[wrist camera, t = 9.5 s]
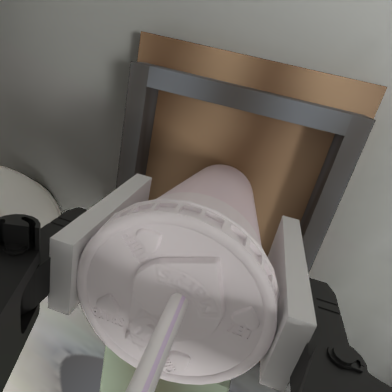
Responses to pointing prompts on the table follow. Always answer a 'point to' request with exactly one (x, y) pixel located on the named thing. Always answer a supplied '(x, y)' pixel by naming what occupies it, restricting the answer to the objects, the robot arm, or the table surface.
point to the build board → (242, 141)
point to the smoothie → (183, 283)
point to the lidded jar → (26, 197)
